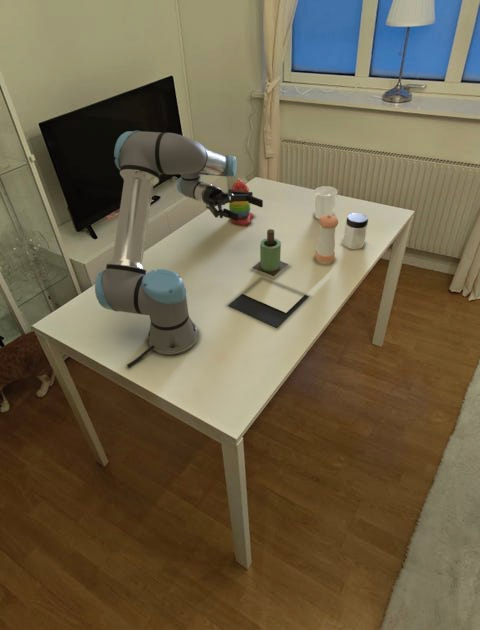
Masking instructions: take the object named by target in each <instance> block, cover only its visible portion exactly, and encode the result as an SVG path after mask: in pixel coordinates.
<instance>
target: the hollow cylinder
mask: <svg viewBox="0 0 480 630" xmlns="http://www.w3.org/2000/svg"><path fill="white" fill-rule="evenodd" d="M259 244H260V245H259V249H260V250H259V251H260V252H259V253H260V254H259V255H260V256H259V257H260V258H259V260H260V261H259V262H260V267H261V268H262V269H263V270H265V271H271V272H272V271H276V270H278V269H279V268H280V261H281V251H282V242H281V241H280V240H279V239H278V238H275V237H274V246H273V247H268V246H267V238H263V239H262V240H261V241H260V243H259Z"/></svg>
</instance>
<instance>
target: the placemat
mask: <svg viewBox="0 0 480 630" xmlns="http://www.w3.org/2000/svg"><path fill="white" fill-rule="evenodd" d="M308 298H309V295H307V294H304V295H303V296H302V297H301V298H300V299H299V300H298V301H297V302H296V303H295V304H294V305H293V306H291V308H289V309H288V310H287V311H286V312H285V311H284V310H281V309H278V308H276V307H274V306H271V305H270V304H267V303H264V302H262V301H260V300H258V299H255V298H253V297H252V296H251V297H250V296H248V295H246V294H243V293H241V294H240V295H239V296H237V297H236V298H235V299H234V300H233V301H231V302H230V303H229V304H228V307H230V308H232V309H234V310H236V311H239V312H241V313H243V314H245V315H248V316H250V317H252V318H253V319H256V320H258V321H261V322H262V323H265V324H267V325H269V326H271V327H273V328H276V329H278V328H279V327H280V326H281V325H282V324H283V323H284V322H285V321H286V320H287V319H288V318H289V317H290V316H291V315H293V313H294V312H295V311H296V310H297V309H298V308H299V307H300V306H301V305H303V303H304V302H306V301H307V300H308Z"/></svg>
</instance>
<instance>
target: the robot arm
mask: <svg viewBox="0 0 480 630" xmlns="http://www.w3.org/2000/svg"><path fill="white" fill-rule="evenodd" d="M113 156H114V158H115V159H114V164H115V166H116V168H117V169H118V170H119V175H120V176H121V178H122V179H123V184H122V185H123V186H122V191H121V200H120V205H119V212H118V213H119V214H118V219H117V227H116V234H115V240H114V248H113V255H112V259H111V260H110V261H108V262H107V263H106V266H105V269H103V270H101V271H100V272H99V273H98V274H97V276H96V278H95V282H94V293H95V297H96V300H97V301H98V304H99V305H100V306H101V307H102V308H104V309H106V310H110V311H114V312H121V313H127V314H129V313H130V314H136V315H144V316H149V320H150V325H149V331H148V337H147V338H148V344H149V346H150V347H148V348H147V349H145V350H144V351H143V352H142V353H141V354H140V355H139V356H138V357H136V358H135V359H133V360H132V361H131V362H129V363H127V364H126V366H127V368H130V367H132V366H133V365H135V364H136V363H138V362H139V361H140V360H142V358H144V357H145V356H146V355H148V354H149V353H150V352H151V351H152V350H153V351H154V352H155V353H157V354H160V355H163V356H176V355H180V354H181V355H182V354H183V353H186V352H188V351H189V350H190V349H192V348H194V346H195V345H196V343H197V341H198V330H197V325H196V323H194V321H193V320H192V319H191V317H190V314H189V306H188V300H187V290H186V289H187V288H186V287H185V282H184V280H183V279H182V277H181V276H180V274H178V273H177V272H175V271H173V270H170V269H165V268H157V269H156V270H154V269H153V270H150V271H148V272H147V269H146V267H145V266H144V264H143V259H144V253H145V245H146V238H147V230H148V225H149V224H148V223H149V219H150V218H149V217H150V210H151V204H152V197H153V190H154V186H156V185H157V184H159V182H160V177H161V175H181V176H180V177H179V178H178V180H177V184H176V189H177V191H178V193H180V194H181V195H183V196H184V197H185V198H190V199H193V200H195V201H197V202H200V203H203V204H205V208H206V209H207V210H209V211H210V212H211V214H212V215H213V216H214V218H220V219H223V218H226V219H232V220H235V221H238V213H235V212H233V211H230V209H229V208H223V206H225V205H226V204H230V203H233V202H238V201H248V203H250V205H254V206H256V207H258V208H263V207H264V201H263V199H261V198H258V197H256V196H253V192H252V191H248V192H245V191H234V190H232V188H230V189H228V190H227V191H228V192H224V191H223V190H222V189H221V188H220V187H218V186H215V185H212V184H210V183H208V182H204V181H202V180H201V176H215V177H227V178H228V177H234V176H236V173H237V168H238V163H237V158H236V156H234V155H229V154H227V155H226V154H221V153H217V152H216V151H213V150H210V149H207V148H206V147H205V146H204V144H202V143H201V142H200V141H197V140H195V139H192V138H189V137H187V136H184V135H182V134H178V133H174V132H159V131H141V130H133V131H132V130H131V131H129V130H128V131H125V132H123V133H122V134H121V135H119V137H118V138H117V140H116V142H115V145H114V151H113ZM230 198H231V200H230Z"/></svg>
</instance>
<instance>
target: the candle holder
mask: <svg viewBox="0 0 480 630" xmlns="http://www.w3.org/2000/svg"><path fill="white" fill-rule="evenodd" d="M337 196H338V189H337V188H335V187H333V186H329V185H323V186H318V187H316V188H315V190H314V218H316V219H317V220H319V219H320V218H321V217H322V216H324V215H333V216H334V214H335V208H336V203H337V198H338V197H337Z"/></svg>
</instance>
